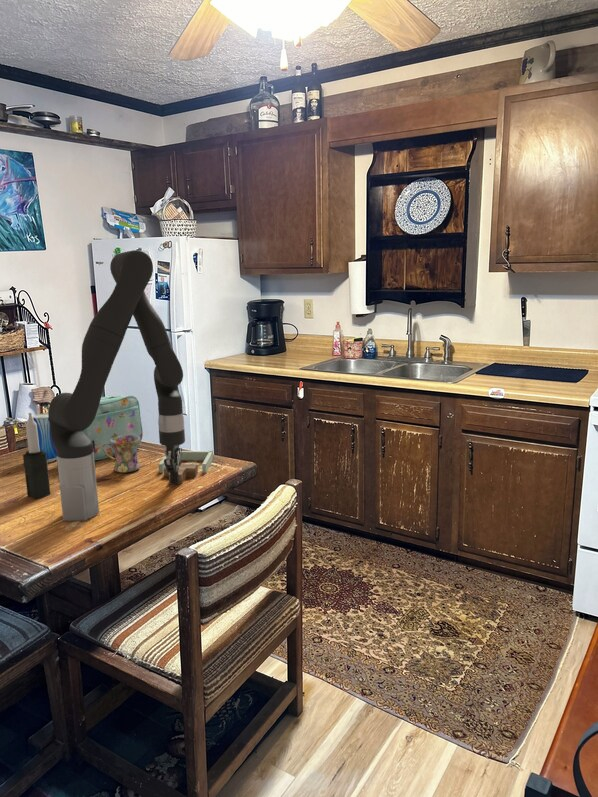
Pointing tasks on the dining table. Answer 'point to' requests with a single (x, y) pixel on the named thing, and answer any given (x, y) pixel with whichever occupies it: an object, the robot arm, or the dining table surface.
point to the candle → (35, 464)
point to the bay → (193, 455)
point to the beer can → (45, 436)
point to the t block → (184, 472)
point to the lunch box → (114, 423)
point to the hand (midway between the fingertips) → (174, 482)
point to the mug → (125, 453)
